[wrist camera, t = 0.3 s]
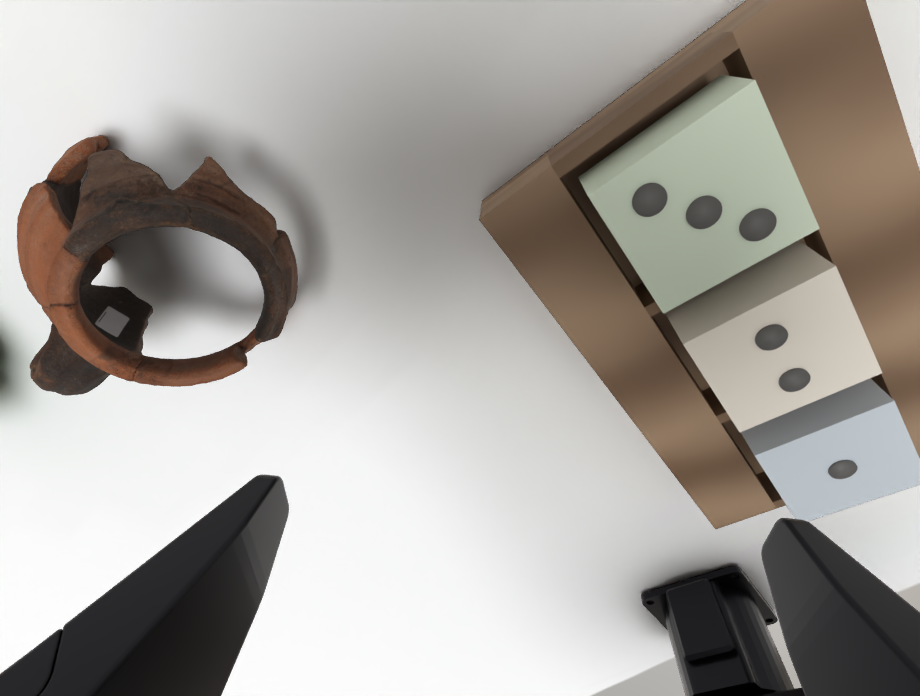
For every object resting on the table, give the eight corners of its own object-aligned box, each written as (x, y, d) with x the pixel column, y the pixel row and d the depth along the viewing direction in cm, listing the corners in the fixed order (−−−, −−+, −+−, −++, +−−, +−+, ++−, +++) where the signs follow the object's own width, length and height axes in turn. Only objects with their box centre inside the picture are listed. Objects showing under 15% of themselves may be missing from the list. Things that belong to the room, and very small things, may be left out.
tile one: (889, 440, 21) (931, 483, 19) (773, 482, 23) (799, 526, 21) (854, 363, 20) (896, 402, 18) (731, 417, 22) (755, 457, 19)
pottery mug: (109, 50, 18) (82, 104, 12) (319, 197, 25) (364, 277, 19) (-32, 290, 21) (-108, 426, 15) (191, 365, 27) (197, 480, 21)
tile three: (782, 205, 17) (821, 229, 15) (646, 284, 19) (664, 315, 16) (721, 74, 15) (757, 80, 13) (578, 177, 17) (588, 196, 15)
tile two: (842, 337, 19) (884, 374, 17) (717, 395, 21) (740, 434, 19) (797, 239, 17) (837, 267, 15) (664, 312, 19) (683, 345, 17)
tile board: (956, 394, 22) (1001, 430, 20) (700, 492, 27) (715, 529, 25) (801, -42, 15) (848, -55, 12) (482, 201, 19) (479, 219, 17)
